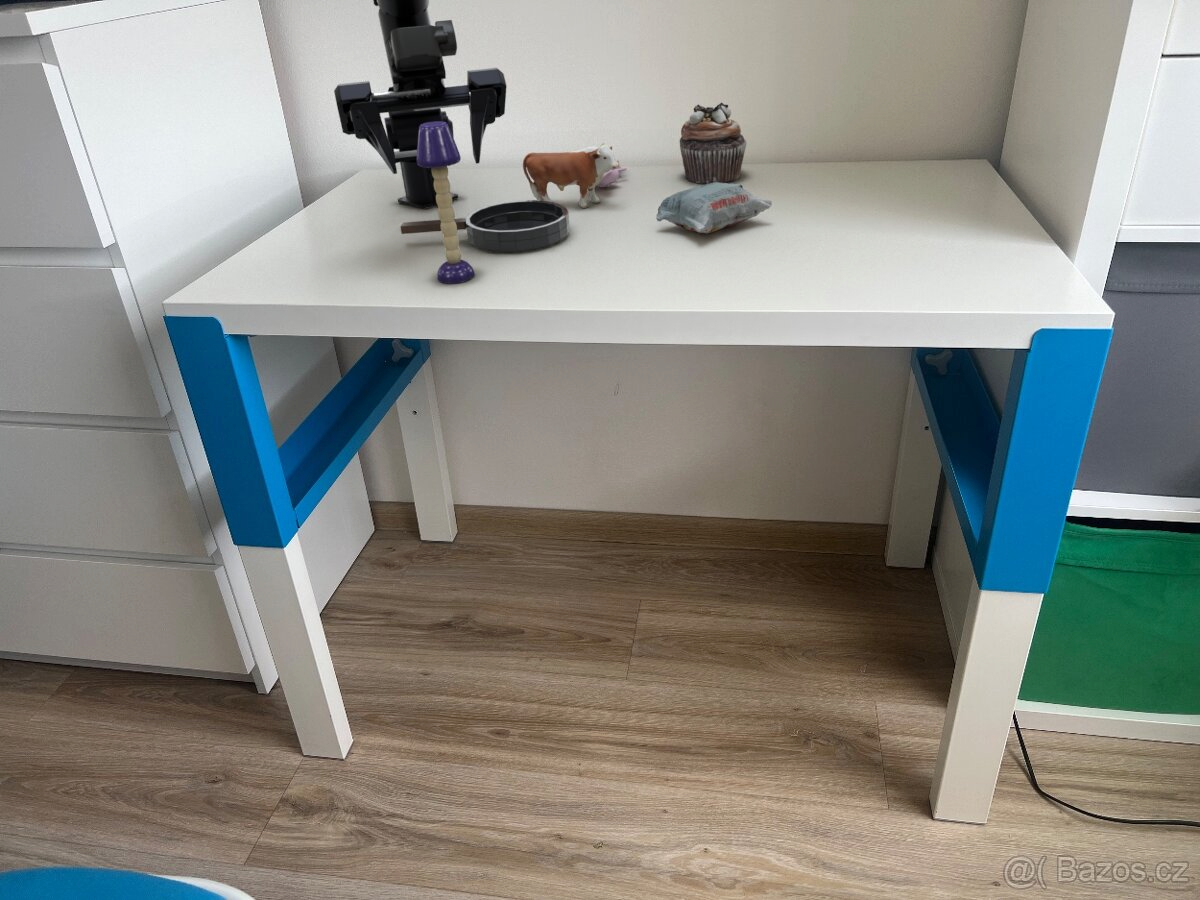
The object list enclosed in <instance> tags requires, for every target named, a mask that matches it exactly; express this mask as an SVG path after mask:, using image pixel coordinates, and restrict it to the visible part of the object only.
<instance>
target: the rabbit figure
mask: <svg viewBox="0 0 1200 900" xmlns="http://www.w3.org/2000/svg"><path fill="white" fill-rule="evenodd" d="M602 145H606V143H604V142H603V143H601V145H600V146H599V148H600V147H601V146H602ZM616 162H618V163H619V167H618V168H617V169H615V170H610V171H609V172H607V173H604V176H603V178H602V180H601V181H600V182H599V183H598V185H597V186H598V187H600V188H601V189H602V188H606V187H607V186H608V185H609V184H612V183H615V182H616V181H617V180H618V179H619V177H620V173H621V172H626V171H627V167H625V166H622V167H621V164H620V159H617V160H616Z"/></svg>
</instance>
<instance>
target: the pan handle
mask: <svg viewBox="0 0 1200 900" xmlns="http://www.w3.org/2000/svg"><path fill="white" fill-rule="evenodd" d="M465 218H466V217H461V218H454V221H455V223H456V225H457V231H462V230H465V231H466V224H465ZM400 232H401V234H402V235H406V234H407V235H408V234H409V235H410V234H421V233H423V234H424V233H435V232H442V231H441V221H440V219H433V220H432V219H431V220H419V221H418V220H417V221H403V222H402V223H401V224H400Z"/></svg>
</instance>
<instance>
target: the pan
mask: <svg viewBox="0 0 1200 900" xmlns="http://www.w3.org/2000/svg"><path fill="white" fill-rule="evenodd" d="M464 218H465V224H466V229H465V231H466V238H467V242H468V243H469V244H471V245H473V247H475V248H477V249H478V250H481V251H483V252H489V253H496V254H520V253H528V252H534V251H539V250H543V249H547V248H549V247H552V246H555V245H556V244H558V243H560V242H561V241H563V240H564V239H565V237H567V236H568V235H569V232H570V230H571V228H570V215H569V211H568V209H567V207H566V206H564V205H562V204H560V203H557V202H553V201H552V202H548V201H540V200H537V199H528V200H527V199H526V200H525V199H524V200H512V201H503V202H498V203H493V204H490V205H486V206H483V207H480V208H477V209H475V210H473V211H471V212H469V213H468V214H467V216H466V217H464Z"/></svg>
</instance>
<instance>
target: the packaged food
mask: <svg viewBox="0 0 1200 900" xmlns="http://www.w3.org/2000/svg"><path fill="white" fill-rule="evenodd" d="M772 203H773V201H772V200H769V199H762V198H759V197H757V196H755V195H754V194H752V193H751V192H749V191H747V190H746V189H745V188H744V187H743V185H742V184H737V183H729V182H727V183H719V182H715V183H710V184H701V185H698V186H694V187H690V188H687V189H684V190H681V191H678V192H675V193H673V194H672V195H670V196H668V197H666V198H663V200H662V202H661V203H660V205H659V206H658V208H657V213H656V216H655V217H656V218H655V219H656V220H657V222H662V221H663V220H665V221H668V222H669V223H671V224H674V225H676V226H677V227H680V228H682V229H684V230H688V231H693V232H696V233H701V234H710V233H713V232H716V231H719V230H722V229H726V228H730V227H732V226H735V225H737V224H740V223H742V222H744V221H747V220H750V219H752V218H755V217H757V216H758V215H760V213H763V212H765V211H766V210H768V209H770V208H771V207H772Z"/></svg>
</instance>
